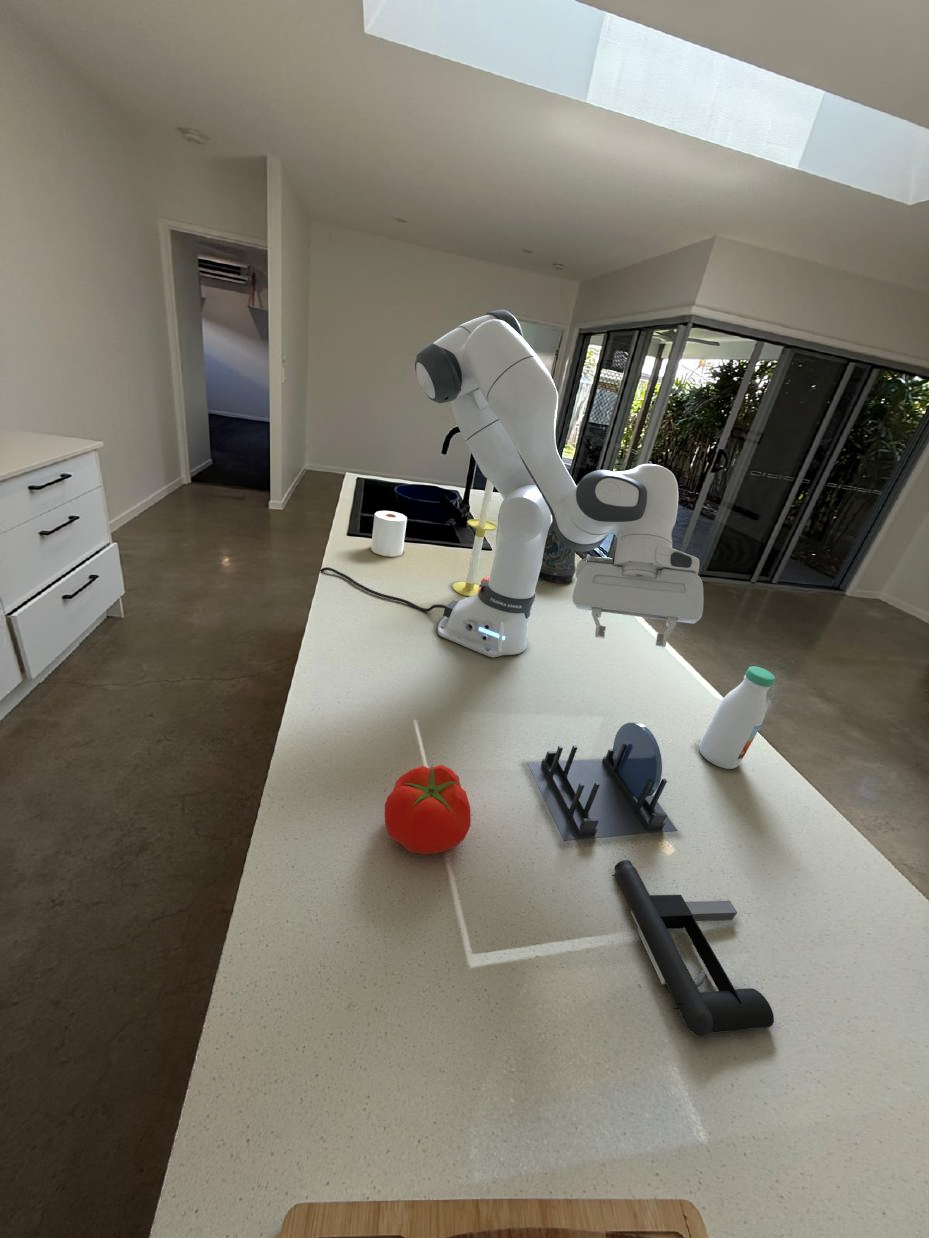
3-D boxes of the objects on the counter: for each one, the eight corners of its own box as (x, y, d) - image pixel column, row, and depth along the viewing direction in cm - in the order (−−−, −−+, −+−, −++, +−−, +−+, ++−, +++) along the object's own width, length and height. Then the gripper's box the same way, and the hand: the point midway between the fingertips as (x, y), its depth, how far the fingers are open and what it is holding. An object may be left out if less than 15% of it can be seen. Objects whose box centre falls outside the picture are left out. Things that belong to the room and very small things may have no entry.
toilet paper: (366, 552, 163) (370, 516, 157) (377, 542, 172) (380, 508, 167) (397, 559, 162) (401, 523, 157) (405, 549, 171) (410, 515, 166)
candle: (468, 580, 157) (493, 457, 141) (492, 593, 152) (520, 467, 135) (445, 585, 151) (468, 457, 134) (468, 599, 145) (495, 467, 128)
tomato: (435, 887, 65) (446, 842, 61) (362, 833, 70) (368, 789, 66) (484, 825, 75) (496, 783, 71) (417, 782, 80) (425, 741, 76)
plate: (607, 774, 91) (619, 711, 89) (612, 773, 91) (624, 711, 89) (648, 812, 80) (663, 742, 77) (654, 812, 80) (668, 742, 78)
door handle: (707, 858, 74) (610, 858, 70) (812, 1017, 57) (691, 1029, 52) (697, 873, 75) (601, 874, 71) (796, 1032, 58) (678, 1045, 54)
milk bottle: (721, 774, 96) (769, 687, 87) (689, 746, 102) (730, 663, 93) (746, 765, 99) (794, 681, 90) (714, 739, 105) (756, 658, 96)
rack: (525, 765, 88) (536, 730, 85) (625, 761, 94) (639, 728, 90) (562, 844, 75) (577, 806, 71) (675, 833, 80) (694, 798, 77)
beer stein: (576, 587, 169) (599, 514, 158) (520, 577, 168) (538, 503, 157) (568, 568, 184) (588, 501, 173) (516, 559, 183) (532, 491, 171)
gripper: (577, 548, 85) (563, 628, 83) (710, 560, 78) (699, 647, 76) (580, 561, 91) (567, 636, 88) (705, 573, 84) (694, 654, 82)
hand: (629, 641), depth 82 cm, fingers open, 8 cm apart
